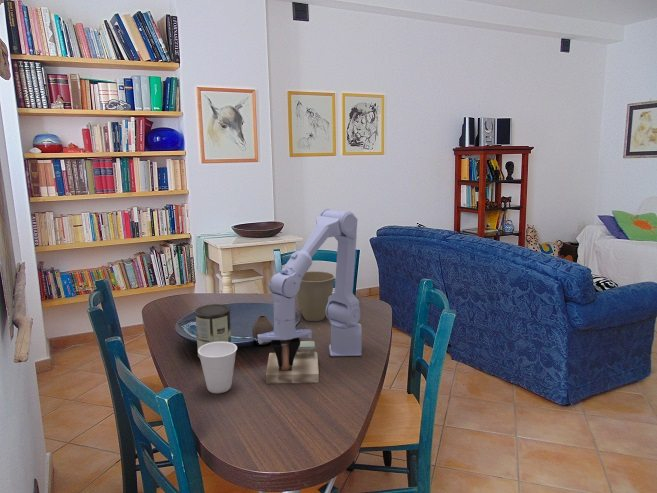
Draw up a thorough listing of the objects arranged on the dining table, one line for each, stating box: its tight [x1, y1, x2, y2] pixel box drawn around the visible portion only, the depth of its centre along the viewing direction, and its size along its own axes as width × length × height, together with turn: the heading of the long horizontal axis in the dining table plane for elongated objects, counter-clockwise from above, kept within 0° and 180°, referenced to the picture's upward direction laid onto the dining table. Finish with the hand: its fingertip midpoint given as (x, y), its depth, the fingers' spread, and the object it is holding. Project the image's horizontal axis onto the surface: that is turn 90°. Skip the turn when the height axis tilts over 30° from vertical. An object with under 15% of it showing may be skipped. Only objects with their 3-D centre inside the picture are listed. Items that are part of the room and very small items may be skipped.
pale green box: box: [295, 340, 316, 356], centre depth 142 cm, size 6×4×6 cm, turn 93°
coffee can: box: [194, 303, 232, 359], centre depth 148 cm, size 10×10×14 cm
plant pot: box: [296, 270, 336, 322], centre depth 179 cm, size 15×15×16 cm
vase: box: [251, 314, 274, 346], centre depth 157 cm, size 7×7×9 cm
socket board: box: [265, 351, 320, 385], centre depth 138 cm, size 14×14×2 cm
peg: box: [281, 343, 290, 371], centre depth 134 cm, size 2×2×8 cm
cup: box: [197, 341, 238, 394], centre depth 127 cm, size 10×10×11 cm
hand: (285, 364), depth 134 cm, fingers closed on peg, 2 cm apart
